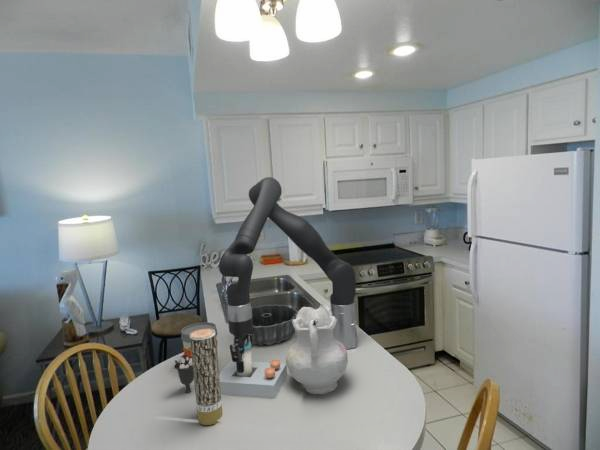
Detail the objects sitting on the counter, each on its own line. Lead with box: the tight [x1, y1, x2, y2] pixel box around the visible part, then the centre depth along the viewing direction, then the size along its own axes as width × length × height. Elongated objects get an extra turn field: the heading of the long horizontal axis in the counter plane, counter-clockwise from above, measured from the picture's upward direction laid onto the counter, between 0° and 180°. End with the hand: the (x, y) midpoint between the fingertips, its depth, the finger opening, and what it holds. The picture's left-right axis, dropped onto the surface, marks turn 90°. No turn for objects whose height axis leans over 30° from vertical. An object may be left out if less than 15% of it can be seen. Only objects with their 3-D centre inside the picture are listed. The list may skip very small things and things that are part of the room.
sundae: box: [173, 348, 194, 394], centre depth 123 cm, size 7×7×15 cm
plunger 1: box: [264, 368, 275, 379], centre depth 121 cm, size 3×3×4 cm
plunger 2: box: [269, 359, 281, 371], centre depth 126 cm, size 3×3×4 cm
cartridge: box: [236, 343, 253, 377], centre depth 126 cm, size 6×6×14 cm
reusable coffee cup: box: [180, 321, 218, 355], centre depth 140 cm, size 13×13×15 cm
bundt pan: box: [251, 303, 299, 346], centre depth 166 cm, size 26×26×10 cm
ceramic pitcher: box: [285, 304, 349, 395], centre depth 123 cm, size 22×20×25 cm
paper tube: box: [190, 329, 223, 426], centre depth 109 cm, size 7×7×25 cm
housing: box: [219, 360, 288, 399], centre depth 126 cm, size 20×14×5 cm
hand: (244, 367), depth 126 cm, fingers open, 5 cm apart
